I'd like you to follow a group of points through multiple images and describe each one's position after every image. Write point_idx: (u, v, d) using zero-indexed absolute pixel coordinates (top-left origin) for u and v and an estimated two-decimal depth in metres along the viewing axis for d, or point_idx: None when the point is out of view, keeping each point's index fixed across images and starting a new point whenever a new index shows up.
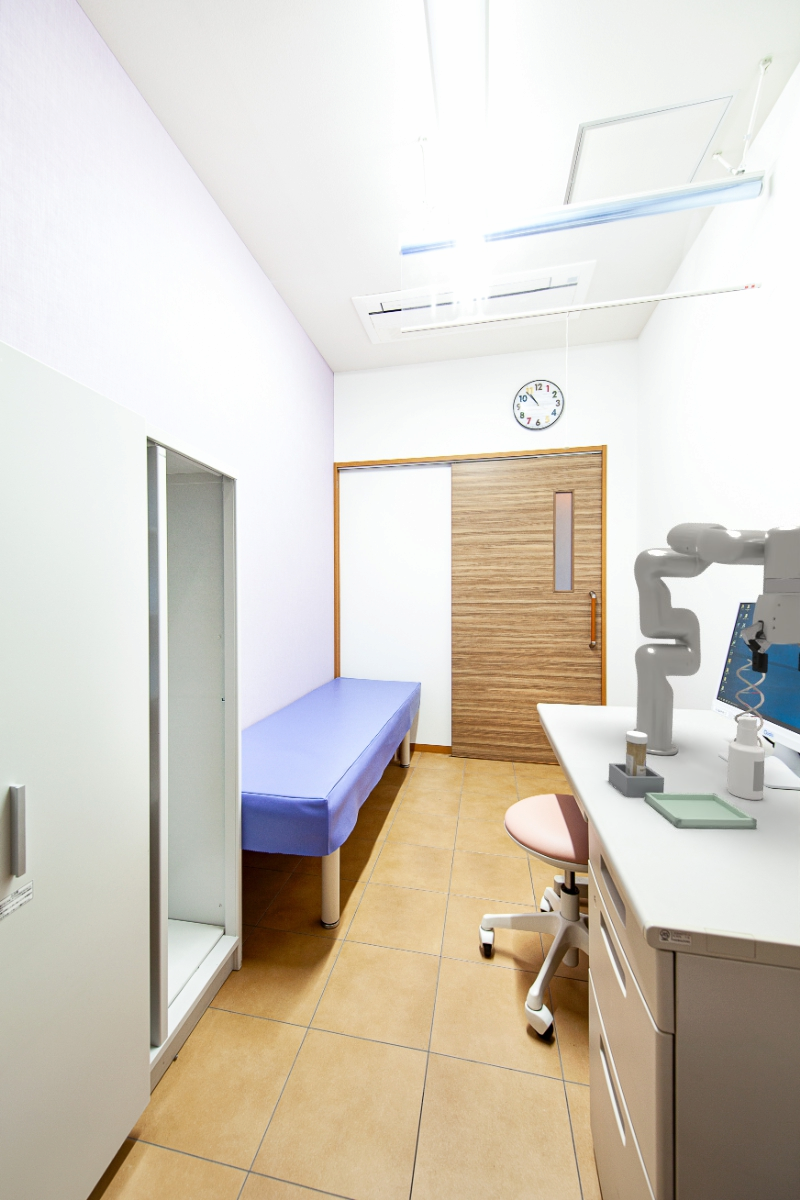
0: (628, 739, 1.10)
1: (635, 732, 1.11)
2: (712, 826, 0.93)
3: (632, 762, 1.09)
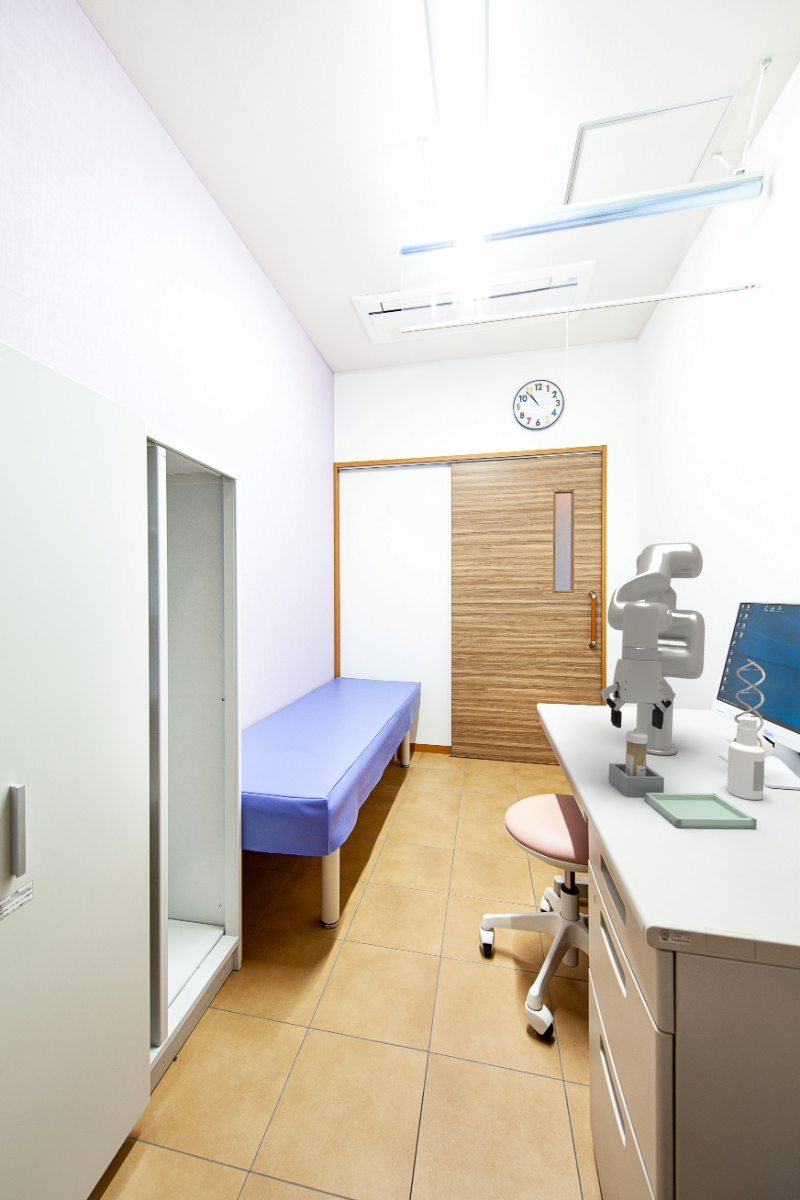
0: (628, 739, 1.10)
1: (635, 732, 1.11)
2: (712, 826, 0.93)
3: (632, 762, 1.09)
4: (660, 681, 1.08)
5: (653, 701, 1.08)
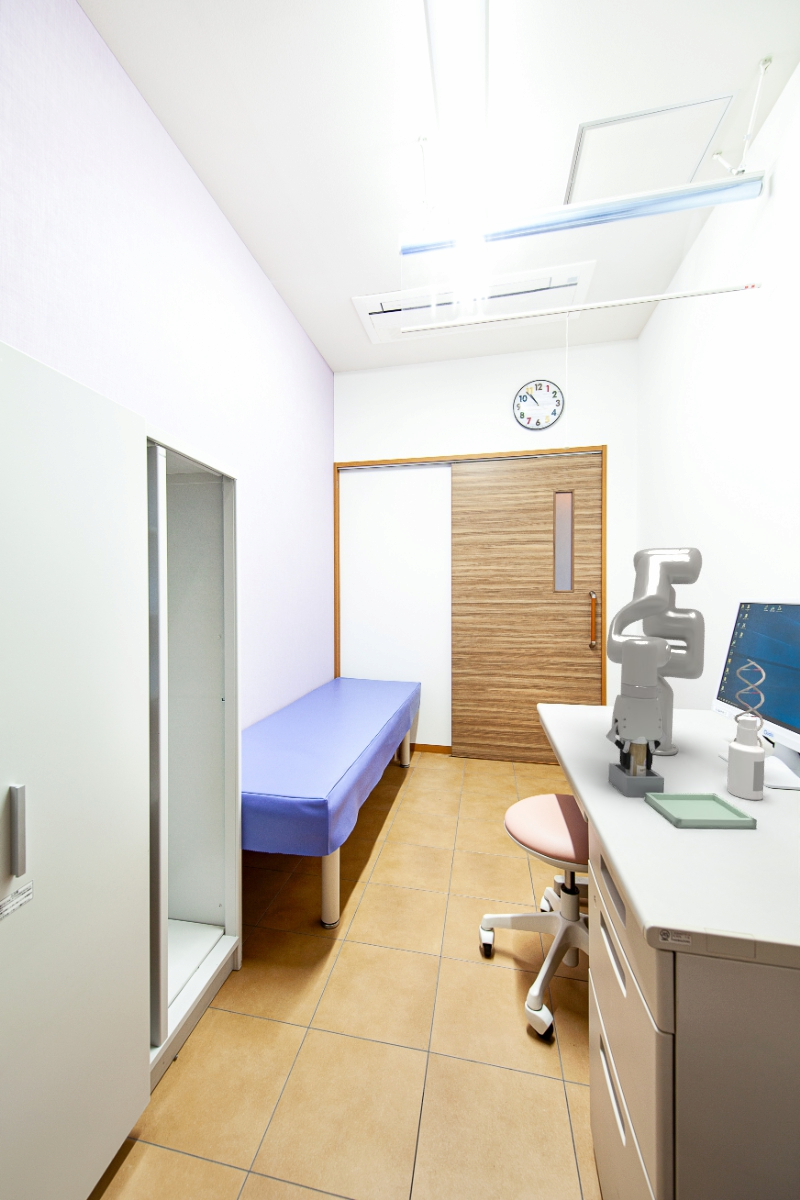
0: None
1: None
2: (712, 826, 0.93)
3: (632, 762, 1.09)
4: (659, 718, 1.08)
5: (652, 738, 1.08)
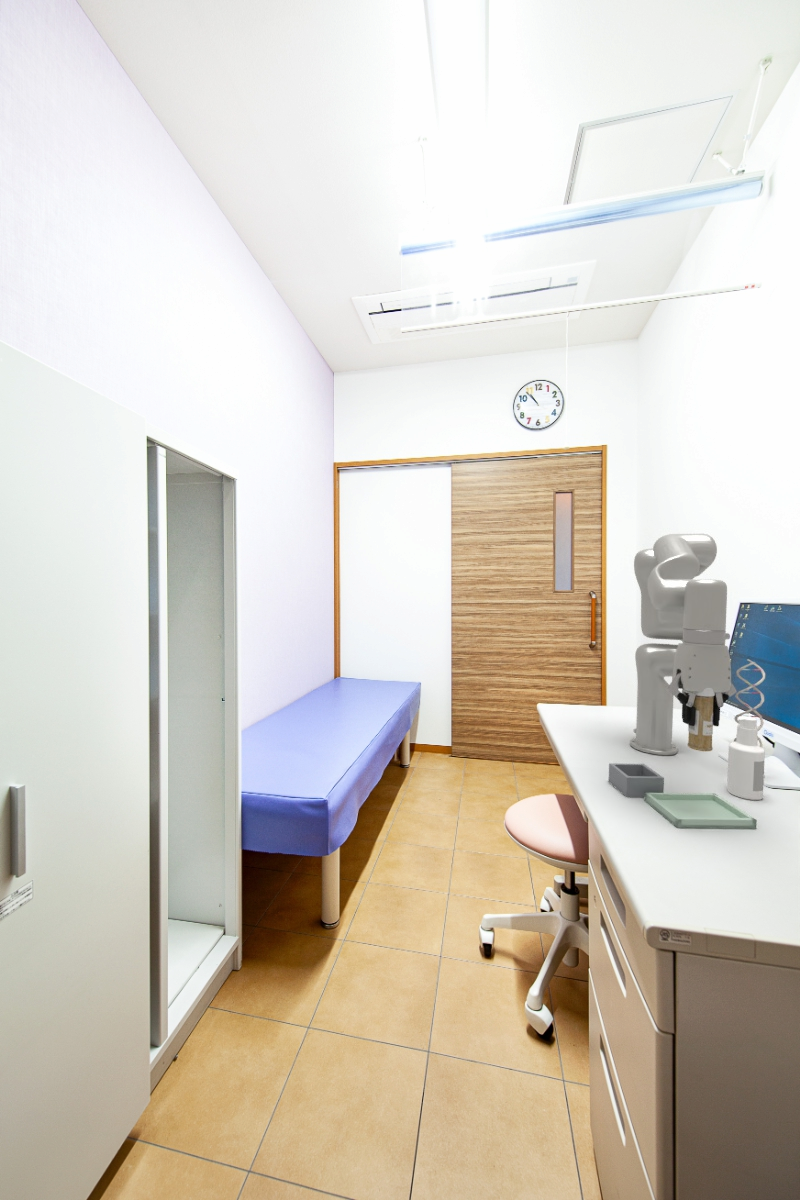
0: None
1: None
2: (712, 826, 0.93)
3: (698, 718, 0.97)
4: (728, 667, 0.96)
5: (720, 690, 0.96)
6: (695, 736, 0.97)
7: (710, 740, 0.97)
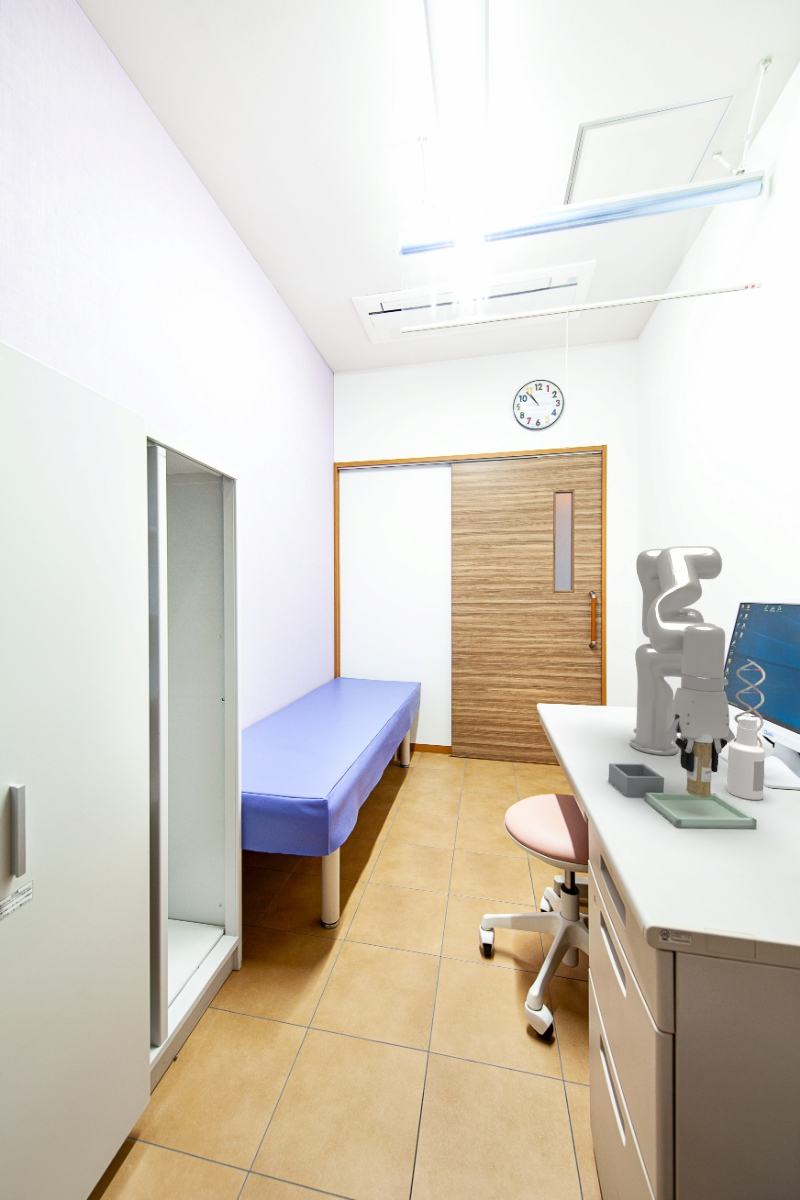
0: None
1: None
2: (712, 826, 0.93)
3: (696, 764, 0.97)
4: (726, 714, 0.96)
5: (719, 736, 0.96)
6: (694, 782, 0.97)
7: (708, 786, 0.97)
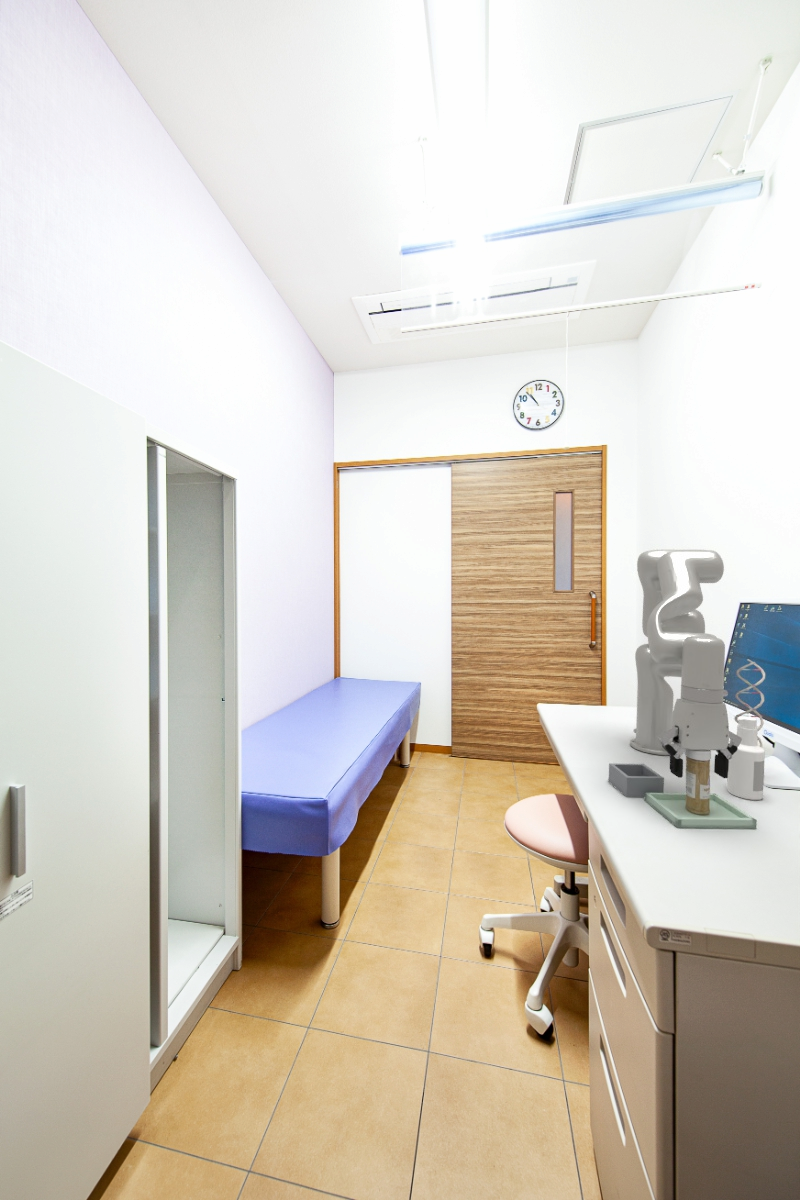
0: (689, 755, 0.98)
1: None
2: (712, 826, 0.93)
3: (695, 781, 0.97)
4: (726, 725, 0.96)
5: (718, 747, 0.96)
6: (692, 800, 0.98)
7: (707, 803, 0.97)
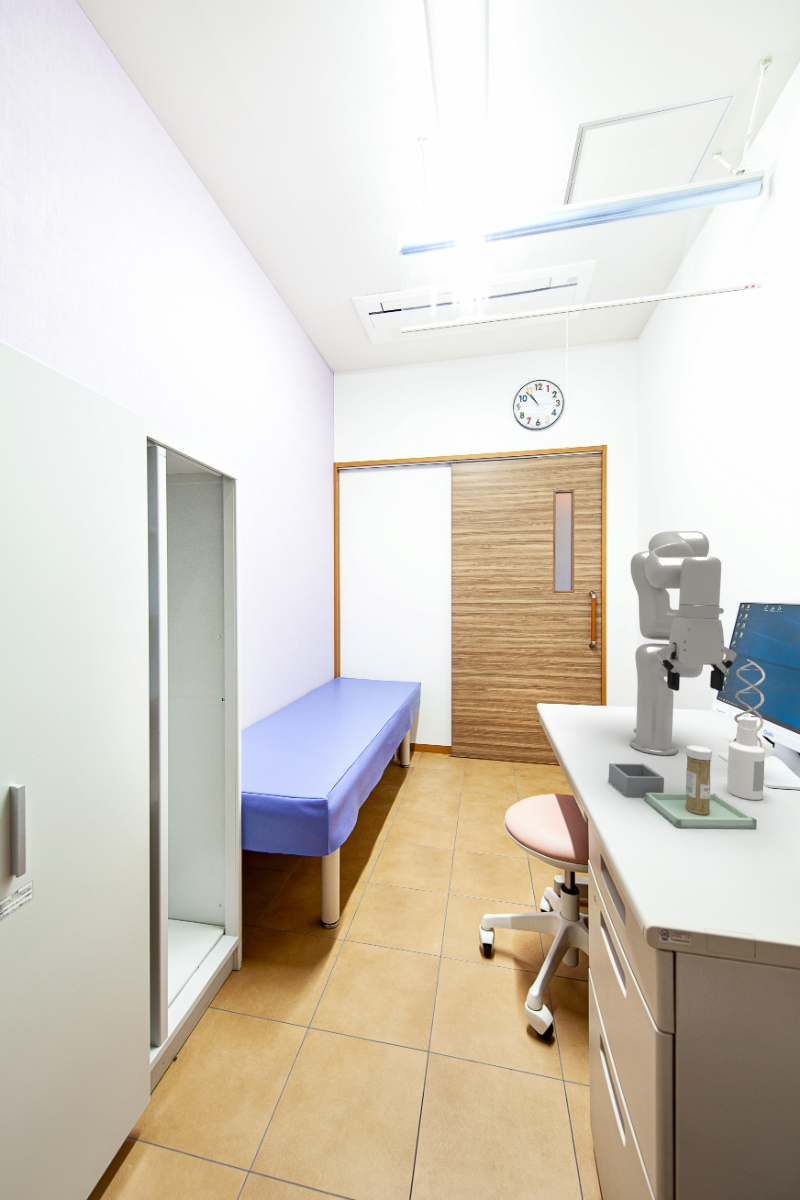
0: (690, 754, 0.98)
1: (697, 746, 1.00)
2: (712, 826, 0.93)
3: (695, 781, 0.97)
4: (721, 640, 1.01)
5: (714, 661, 1.01)
6: (693, 799, 0.98)
7: (707, 803, 0.97)
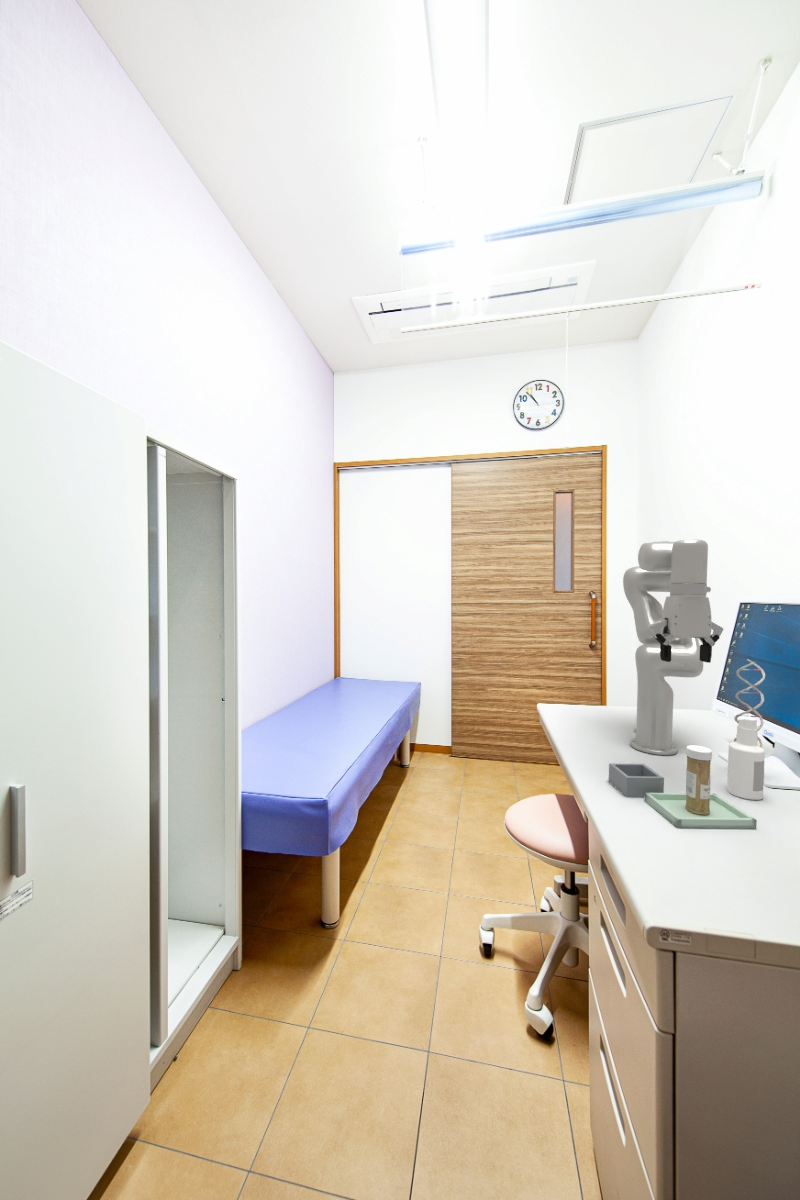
0: (690, 755, 0.98)
1: (697, 747, 0.99)
2: (712, 826, 0.93)
3: (695, 781, 0.97)
4: (709, 615, 1.11)
5: (702, 635, 1.11)
6: (693, 800, 0.98)
7: (707, 803, 0.97)
